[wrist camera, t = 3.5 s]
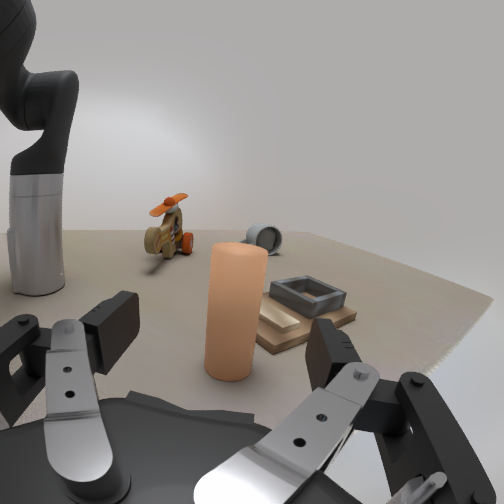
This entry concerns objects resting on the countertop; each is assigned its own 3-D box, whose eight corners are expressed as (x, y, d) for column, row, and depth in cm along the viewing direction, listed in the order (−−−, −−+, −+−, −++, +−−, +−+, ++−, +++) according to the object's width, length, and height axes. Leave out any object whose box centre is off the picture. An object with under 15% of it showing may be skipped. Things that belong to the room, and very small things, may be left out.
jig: (272, 354, 29) (277, 326, 28) (215, 309, 38) (217, 285, 37) (354, 319, 39) (360, 297, 38) (299, 291, 48) (302, 272, 47)
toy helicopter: (193, 250, 67) (198, 193, 64) (171, 278, 47) (175, 199, 43) (162, 246, 67) (165, 190, 63) (128, 272, 46) (130, 195, 43)
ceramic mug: (267, 247, 79) (270, 221, 77) (280, 255, 72) (284, 226, 70) (231, 247, 75) (234, 219, 73) (242, 256, 68) (245, 224, 66)
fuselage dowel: (220, 387, 23) (232, 258, 20) (196, 360, 26) (202, 243, 23) (260, 372, 26) (279, 254, 23) (233, 349, 29) (246, 241, 26)
